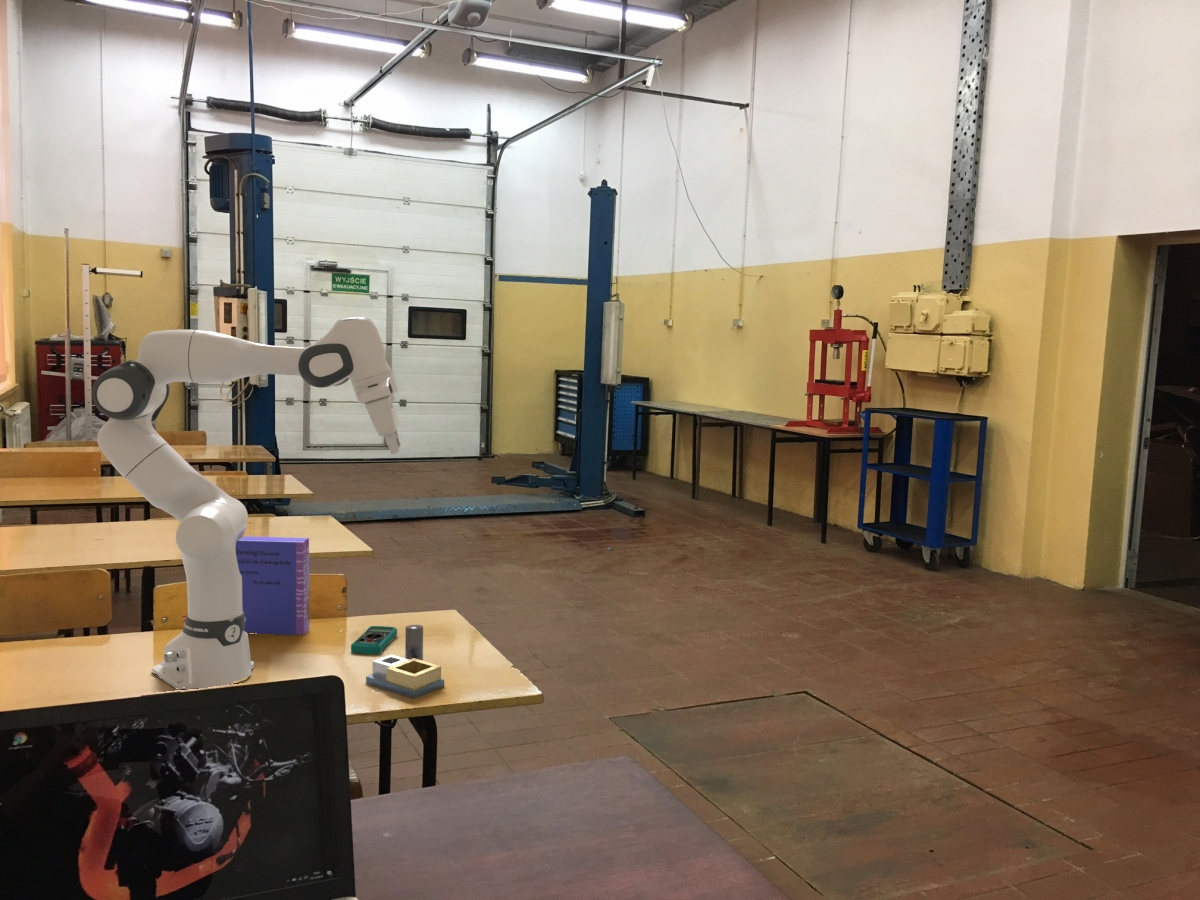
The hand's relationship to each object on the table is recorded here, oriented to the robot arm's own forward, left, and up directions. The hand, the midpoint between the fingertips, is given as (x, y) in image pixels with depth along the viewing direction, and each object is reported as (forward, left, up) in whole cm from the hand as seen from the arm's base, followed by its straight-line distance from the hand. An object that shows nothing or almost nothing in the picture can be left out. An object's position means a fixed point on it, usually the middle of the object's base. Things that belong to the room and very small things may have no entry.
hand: (396, 450), depth 208 cm
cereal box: (-46, +3, -51) cm, 68 cm away
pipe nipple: (-1, +7, -51) cm, 51 cm away
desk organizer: (+6, -3, -51) cm, 51 cm away
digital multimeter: (-19, +12, -51) cm, 56 cm away
